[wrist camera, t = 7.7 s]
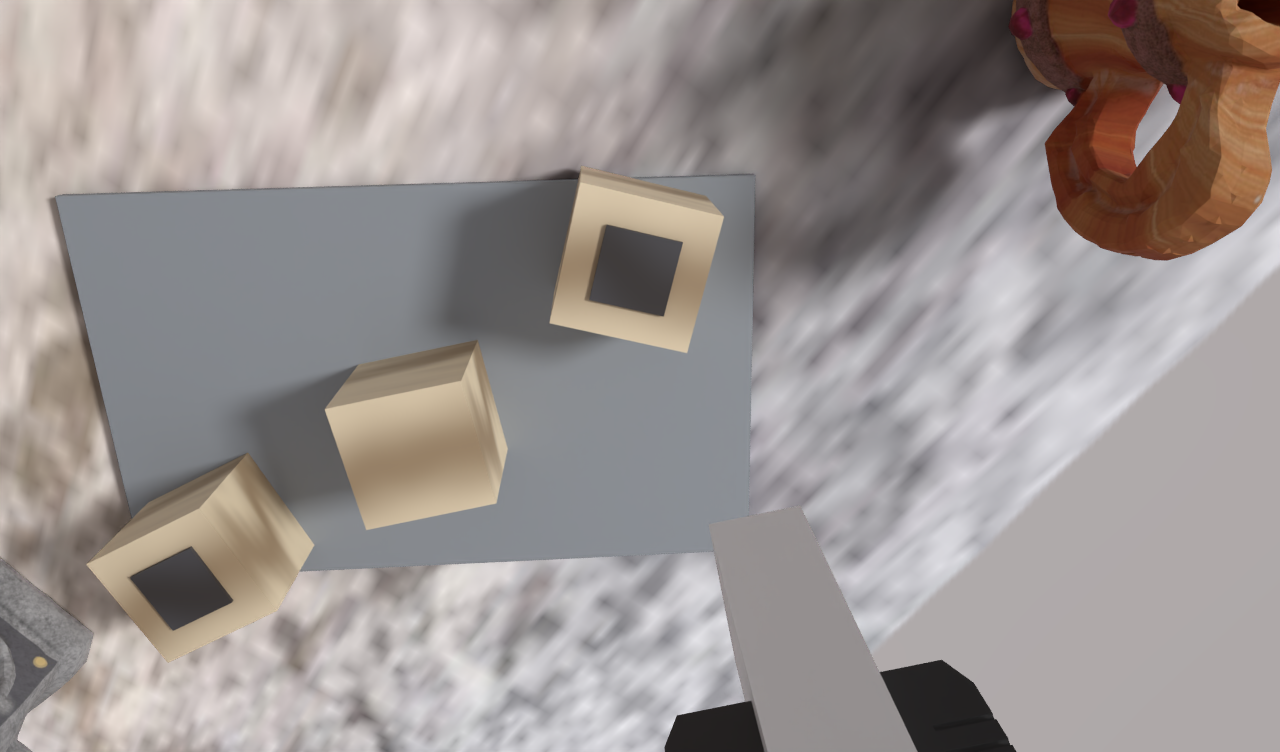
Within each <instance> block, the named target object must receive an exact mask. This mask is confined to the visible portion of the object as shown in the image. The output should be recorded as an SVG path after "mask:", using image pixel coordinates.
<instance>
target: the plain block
mask: <svg viewBox="0 0 1280 752" xmlns="http://www.w3.org/2000/svg"><path fill="white" fill-rule="evenodd" d="M325 412H326V415H327V418H328V421H329V423H330V426H331V429H332V432H333V435H334V438H335V441H336V444H337V447H338V450H339V452H340V455H341V458H342V461H343V464H344V467H345V470H346V473H347V476H348V479H349V481H350V484H351V487H352V490H353V493H354V496H355V499H356V502H357V505H358V508H359V510H360V513H361V516H362V519H363V522H364V525H365V528H366V530H370V529H374V528H379V527H384V526H389V525H394V524H399V523H404V522H409V521H413V520H418V519H423V518H428V517H433V516H438V515H443V514H448V513H452V512H457V511H462V510H467V509H472V508H477V507H482V506H487V505H491V504H496V503H497V498H498V493H499V488H500V484H501V479H502V474H503V469H504V465H505V460H506V455H507V450H508V448H507V445H506V441H505V437H504V434H503V430H502V426H501V423H500V419H499V415H498V412H497V408H496V404H495V401H494V397H493V394H492V390H491V386H490V383H489V379H488V375H487V372H486V368H485V364H484V361H483V357H482V353H481V350H480V346H479V342H478V340H474V341H469V342H464V343H460V344H455V345H450V346H445V347H440V348H436V349H431V350H426V351H421V352H416V353H412V354H407V355H402V356H397V357H392V358H387V359H383V360H378V361H373V362H368V363H363V364H359V365H358V366H357V367H356V369H355V370H354V371H353V372H352V374H351V375H350V376H349V378H348V379H347V380H346V382H345V383H344V384H343V386H342V387H341V388H340V389H339V391H338V392H337V393H336V395H335V396H334V397H333V399H332V400H331V401H330V403H329V404H328V405H327V407H326V408H325Z"/></svg>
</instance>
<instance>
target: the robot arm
mask: <svg viewBox="0 0 1280 752" xmlns="http://www.w3.org/2000/svg"><path fill="white" fill-rule="evenodd" d="M709 529H710V534H711V539H712V544H713V549H714V554H715V559H716V565H717V570H718V575H719V580H720V585H721V590H722V595H723V600H724V605H725V611H726V616H727V621H728V626H729V631H730V636H731V641H732V646H733V651H734V656H735V662H736V666H737V670H738V674H739V678H740V682H741V686H742V690H743V694H744V699H745V702H742V703H737V704H732V705H727V706H722V707H717V708H712V709H707V710H702V711H697V712H692V713H687V714H682V715H677V717H676V719H675V722H674V724H673V727H672V730H671V732H670V735H669V737H668V740H667V742H666V745H665V752H1016V750H1015V749H1014V747H1013V745H1010V743H1009V741H1008V737H1007V736H1006V734H1005V733H1004V731H1003V729H1002V728H1001V726H1000V724H999V723H998V721H997V720H996V719H994V717H993V714H992V712H991V710H990V708H989V707H988V705H987V704H986V702H985V700H984V699H983V697H982V696H981V694H980V692H979V691H978V689H977V687H976V686H975V684H974V683H973V682H972V681H970V680H969V679H968V678H966V677H965V676H963V675H962V674H961V673H959V672H958V671H957V670H955V669H953V668H952V667H951V666H950V665H948V664H947V663H945V662H944V661H943V660H938V661H934V662H928V663H923V664H919V665H914V666H909V667H904V668H899V669H894V670H889V671H884V672H879V670H878V668H877V666H876V664H875V662H874V660H873V657H872V655H871V653H870V651H869V649H868V647H867V645H866V643H865V641H864V639H863V636H862V634H861V632H860V630H859V628H858V626H857V624H856V622H855V620H854V618H853V615H852V613H851V611H850V609H849V607H848V605H847V603H846V601H845V599H844V597H843V594H842V592H841V590H840V588H839V586H838V584H837V582H836V580H835V578H834V576H833V574H832V571H831V569H830V567H829V565H828V563H827V561H826V559H825V557H824V555H823V553H822V550H821V548H820V546H819V544H818V542H817V540H816V538H815V536H814V534H813V532H812V529H811V527H810V525H809V523H808V521H807V519H806V517H805V515H804V513H803V511H802V508H801V506H796V507H791V508H786V509H781V510H776V511H771V512H766V513H761V514H756V515H751V516H746V517H742V518H737V519H732V520H727V521H722V522H717V523H712V524H709Z"/></svg>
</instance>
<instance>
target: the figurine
mask: <svg viewBox="0 0 1280 752" xmlns="http://www.w3.org/2000/svg"><path fill="white" fill-rule="evenodd" d="M92 638H93V633H92V632H91V631H90V630H89V629H87V628H86V627H85V626H84V625H82V624H81V623H80V622H79V621H78V620H76V619H75V618H74V617H73V616H71V615H70V614H69V613H67V612H66V611H65V610H63V609H62V608H61V607H60V606H58V605H57V604H56V603H55V602H54V601H53V600H52V599H51V598H50V597H48V596H47V595H46V594H44V593H43V592H41V591H40V590H39V589H37V588H36V587H35V586H34V585H32V584H31V583H30V582H29V581H27V580H26V579H25V578H24V577H23V576H21V575H20V574H19V573H18V572H17V571H16V570H14V569H13V568H12V567H11V566H10V565H8V564H7V563H6V562H5V561H4V560H2V559H1V558H0V752H32V751H31V750H30V749H28V748H27V747H26V746H25V745H24V744H22V743H21V742H19V741H18V740H17V738H18V734H19V731H20V729H21V726H22V724H23V721H24V719H25V717H26V715H27V713H29V712H30V711H31V710H32V709H34V708H35V707H36V706H38V705H39V704H40V703H42V702H43V701H44V700H46V699H47V698H48V697H49V696H51V695H52V694H53V693H54V692H56V691H57V690H58V689H60V688H61V687H62V686H63V685H64V684H65V683H66V682H68V681H69V680H70V679H71V678H72V677H73V676H74V675H75V673H76V672H77V671H78V670H79V669H80V668H81V667H82V665H83V664H84V663H85V662H86V661H87V657H88V654H89V650H90V646H91V642H92Z"/></svg>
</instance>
